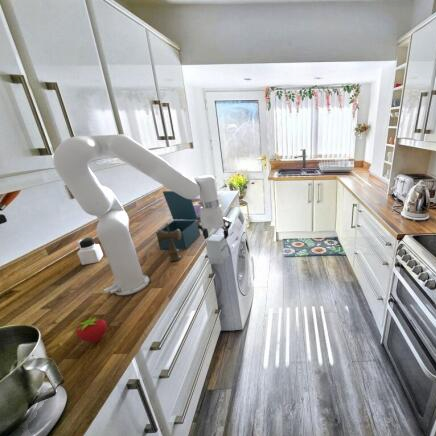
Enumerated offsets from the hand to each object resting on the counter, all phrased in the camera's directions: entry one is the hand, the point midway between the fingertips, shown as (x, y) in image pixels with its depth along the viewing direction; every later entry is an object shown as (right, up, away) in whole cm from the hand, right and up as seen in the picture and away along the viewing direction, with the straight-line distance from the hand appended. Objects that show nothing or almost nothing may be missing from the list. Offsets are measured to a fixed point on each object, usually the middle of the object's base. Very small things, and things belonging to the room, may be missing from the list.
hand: (216, 237), depth 113 cm
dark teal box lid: (-29, +16, +25) cm, 41 cm away
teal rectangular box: (-29, -4, +26) cm, 39 cm away
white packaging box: (0, -12, +4) cm, 13 cm away
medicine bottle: (-66, -12, +9) cm, 68 cm away
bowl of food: (-35, +10, +63) cm, 73 cm away
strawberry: (-25, -30, -39) cm, 55 cm away
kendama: (-23, -12, +7) cm, 26 cm away
